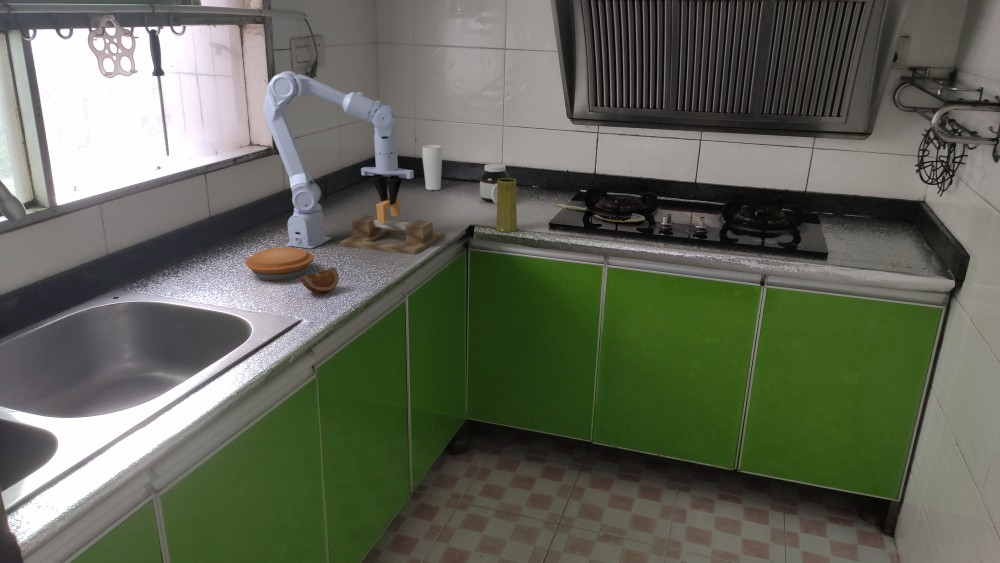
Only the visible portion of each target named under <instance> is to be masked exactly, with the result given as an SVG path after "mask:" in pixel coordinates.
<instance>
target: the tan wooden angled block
mask: <svg viewBox="0 0 1000 563" xmlns="http://www.w3.org/2000/svg"><path fill="white" fill-rule="evenodd" d="M400 203H401V202H400V197H398V196H397V200H396V203H395V204H393V205H390V199H389V198H388V199H387V200H385V201H382V202H381V201H380V202H379V203H376V216H377V222H378V223H386V222H387V221H388V217H387V215H388V214H387V210H388V209H390V216H391V217H399V216H401V206H400Z"/></svg>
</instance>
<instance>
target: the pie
mask: <svg viewBox="0 0 1000 563" xmlns="http://www.w3.org/2000/svg"><path fill="white" fill-rule="evenodd" d="M313 261H314V255H313V253H312V252H309V251H307V250H304V249H303V248H299V247H276V248H275V247H274V248H269V249H264V250H261V251H258V252H255V254H253V255H251V256H250V257H248V258H247V259H246V260H245V262H244V264H245V265H246V266H247V267H248V268H249V269H250V270H251V271H252V272H253V273H254V274H255V277H257V278H258V279H260V280H262V279H263V280H262V281H267V280H269V282H281V281H282V280H283V281H290V280H294V279H297V278H300V277H303V276H305V274H306V273H307V271H308V269H309V267H310V265H311V263H312V262H313Z"/></svg>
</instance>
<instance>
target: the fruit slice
mask: <svg viewBox="0 0 1000 563" xmlns="http://www.w3.org/2000/svg"><path fill="white" fill-rule="evenodd" d="M339 277H340V276H339V273H338V271H337V268H336V267H331V268H327V269H324V270H320V271H317V272H316V273H311V274H307V275H302V276H301V278H300V282H301V284H302V285H303V286H304V287H305V288H306V289H307V290H308V291H309V292H311V293H314V294H319V295H325V294H328V293H330V292H332V291H334V289H335V288H336V287H337V285H338V284H339V280H340V278H339Z"/></svg>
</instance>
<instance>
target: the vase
mask: <svg viewBox="0 0 1000 563" xmlns="http://www.w3.org/2000/svg"><path fill="white" fill-rule="evenodd" d="M497 184H498V186H497V204H496V227H495V229H496V231H498V232H500V233H513V232H516V231H517V230H518V225H517V224H518V223H517V222H518V221H517V220H518V219H517V179H516V178H512V177H511V178H501V179H498V180H497Z"/></svg>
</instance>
